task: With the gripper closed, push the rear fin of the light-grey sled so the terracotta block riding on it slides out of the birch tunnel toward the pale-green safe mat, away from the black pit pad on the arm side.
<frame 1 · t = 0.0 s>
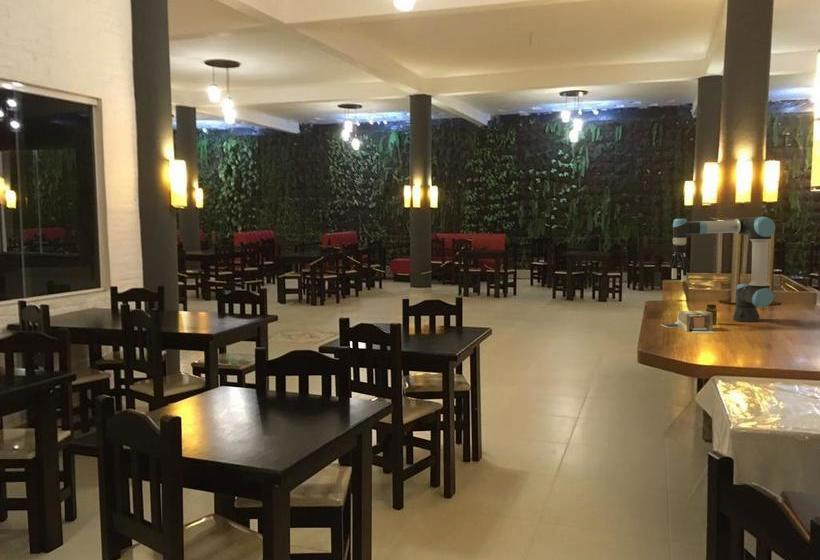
hand: (679, 280, 415), 28 cm above the counter, fingers open, 13 cm apart
safe mat: (703, 332, 394), on the counter
pit pad: (678, 325, 418), on the counter
tunnel: (695, 329, 405), on the counter
condiment: (710, 324, 422), on the counter
sled: (690, 320, 410), point 4 cm above the counter, slide at 0.0 cm
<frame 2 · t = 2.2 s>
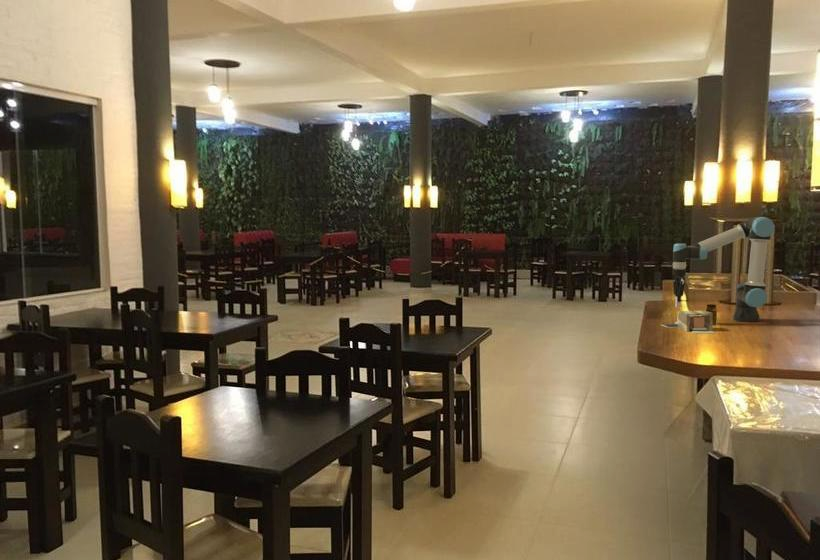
hand: (678, 306, 426), 10 cm above the counter, fingers closed
nothing on the counter moved.
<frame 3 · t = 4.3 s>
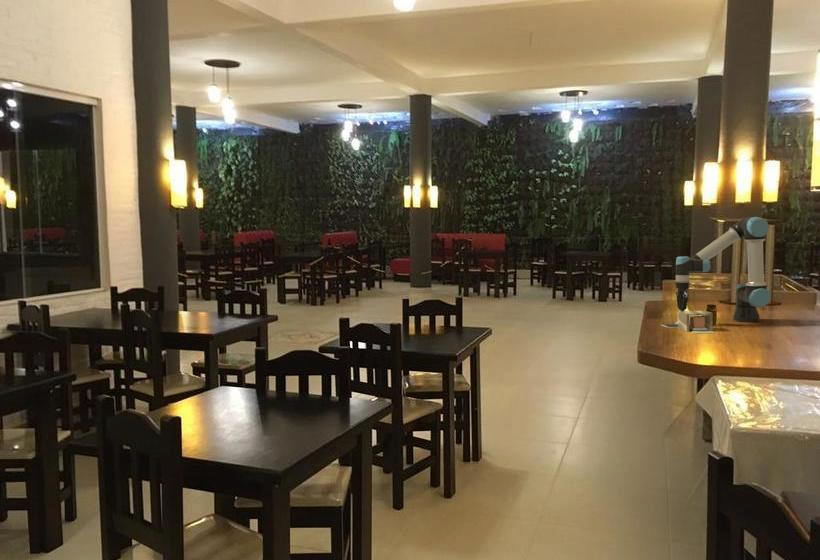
hand: (681, 320, 422), 3 cm above the counter, fingers closed
sled: (691, 320, 410), point 4 cm above the counter, slide at 0.4 cm, touching gripper
everything else where it was.
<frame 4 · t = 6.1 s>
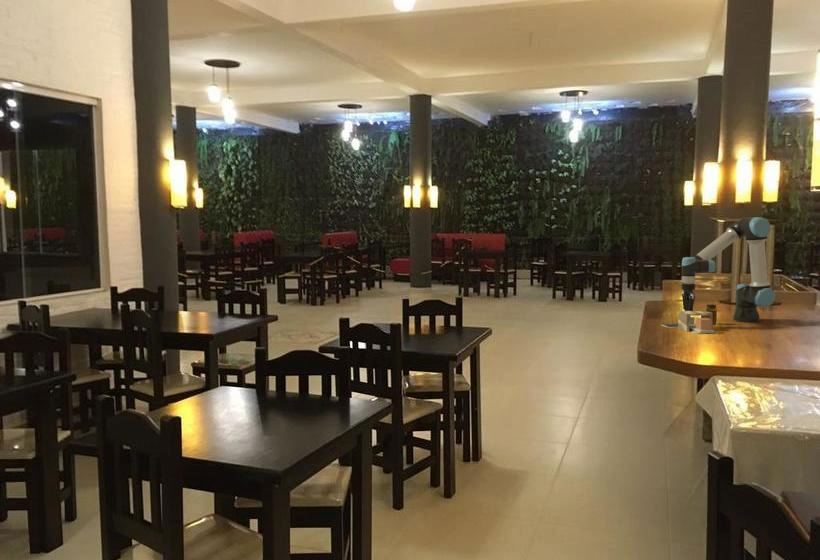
hand: (687, 322, 414), 3 cm above the counter, fingers closed
sled: (697, 323, 402), point 4 cm above the counter, slide at 8.6 cm, touching gripper
everything else where it was.
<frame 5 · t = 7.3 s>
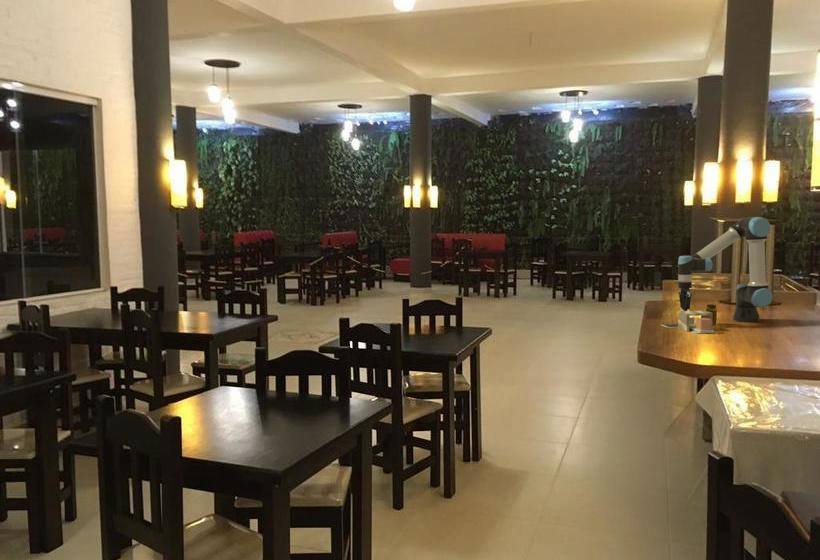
hand: (684, 320, 419), 3 cm above the counter, fingers closed
sled: (697, 323, 401), point 4 cm above the counter, slide at 8.7 cm
everything else where it was.
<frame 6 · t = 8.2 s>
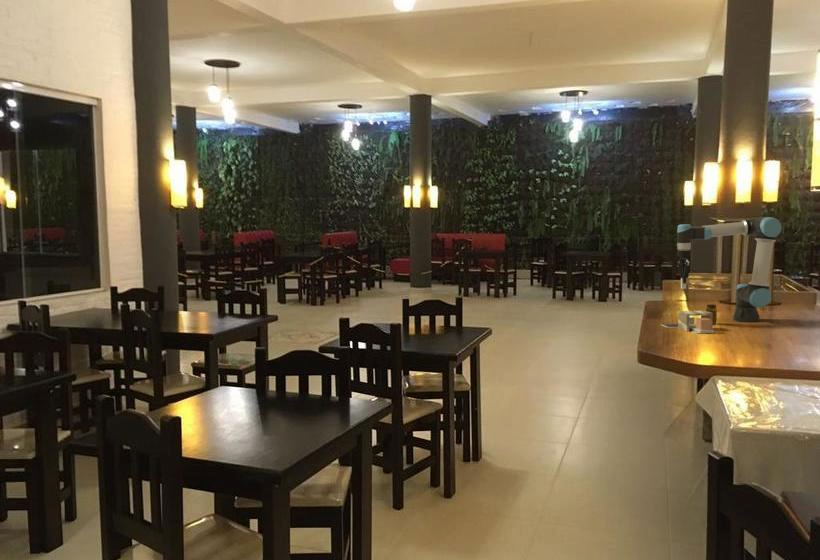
hand: (683, 288, 419), 22 cm above the counter, fingers closed
nothing on the counter moved.
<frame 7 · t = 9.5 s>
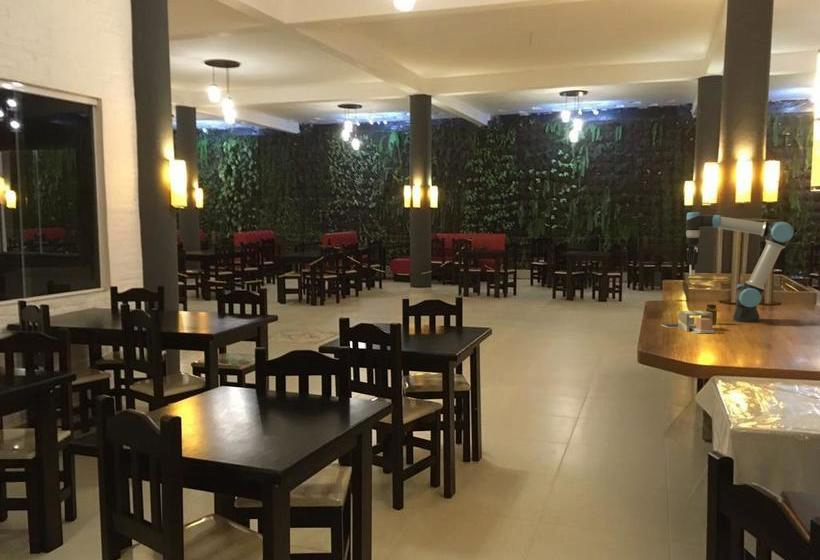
hand: (692, 275, 429), 29 cm above the counter, fingers closed
nothing on the counter moved.
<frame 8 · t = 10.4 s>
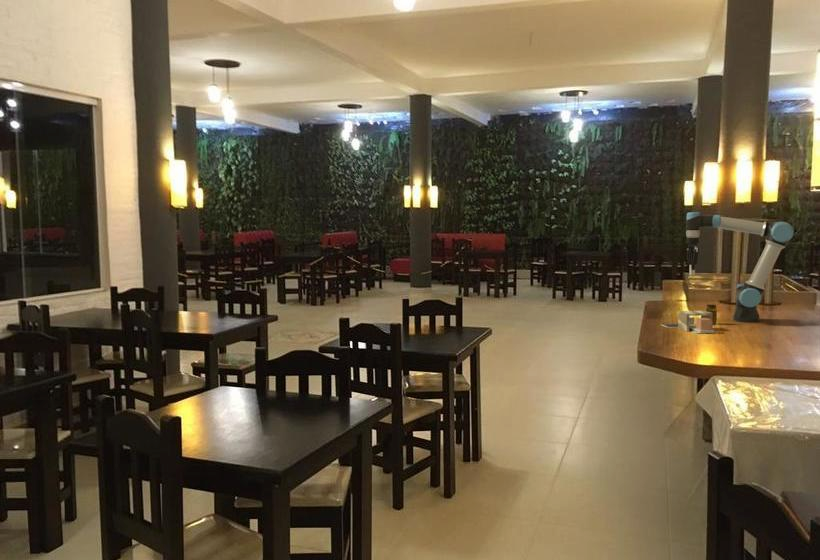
hand: (692, 275, 429), 29 cm above the counter, fingers closed
nothing on the counter moved.
at the end: sled slide at 8.7 cm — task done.
